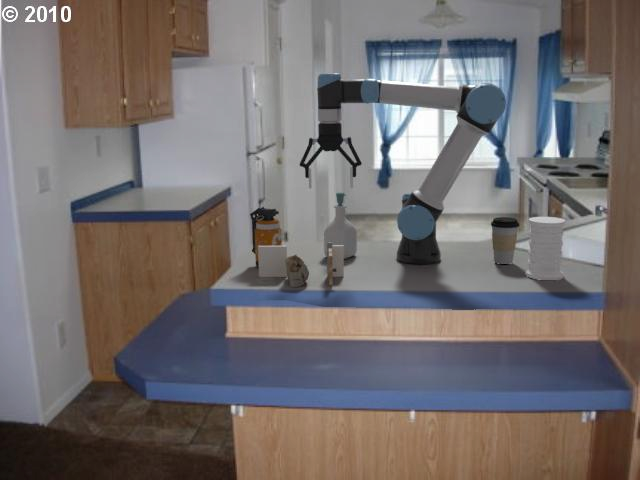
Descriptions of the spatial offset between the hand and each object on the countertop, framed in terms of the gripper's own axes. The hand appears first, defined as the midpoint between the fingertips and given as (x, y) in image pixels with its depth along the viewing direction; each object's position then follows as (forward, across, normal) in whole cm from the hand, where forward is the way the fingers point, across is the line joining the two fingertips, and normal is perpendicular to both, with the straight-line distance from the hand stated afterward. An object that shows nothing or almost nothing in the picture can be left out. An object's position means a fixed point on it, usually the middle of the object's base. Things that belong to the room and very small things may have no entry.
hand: (330, 187), depth 242 cm
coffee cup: (+27, -58, -2) cm, 64 cm away
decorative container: (+27, -67, +16) cm, 74 cm away
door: (+26, 0, +21) cm, 33 cm away
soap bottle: (+27, -3, -13) cm, 30 cm away
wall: (+27, +10, +13) cm, 31 cm away
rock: (+27, +11, +20) cm, 35 cm away
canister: (+27, +22, -1) cm, 35 cm away
